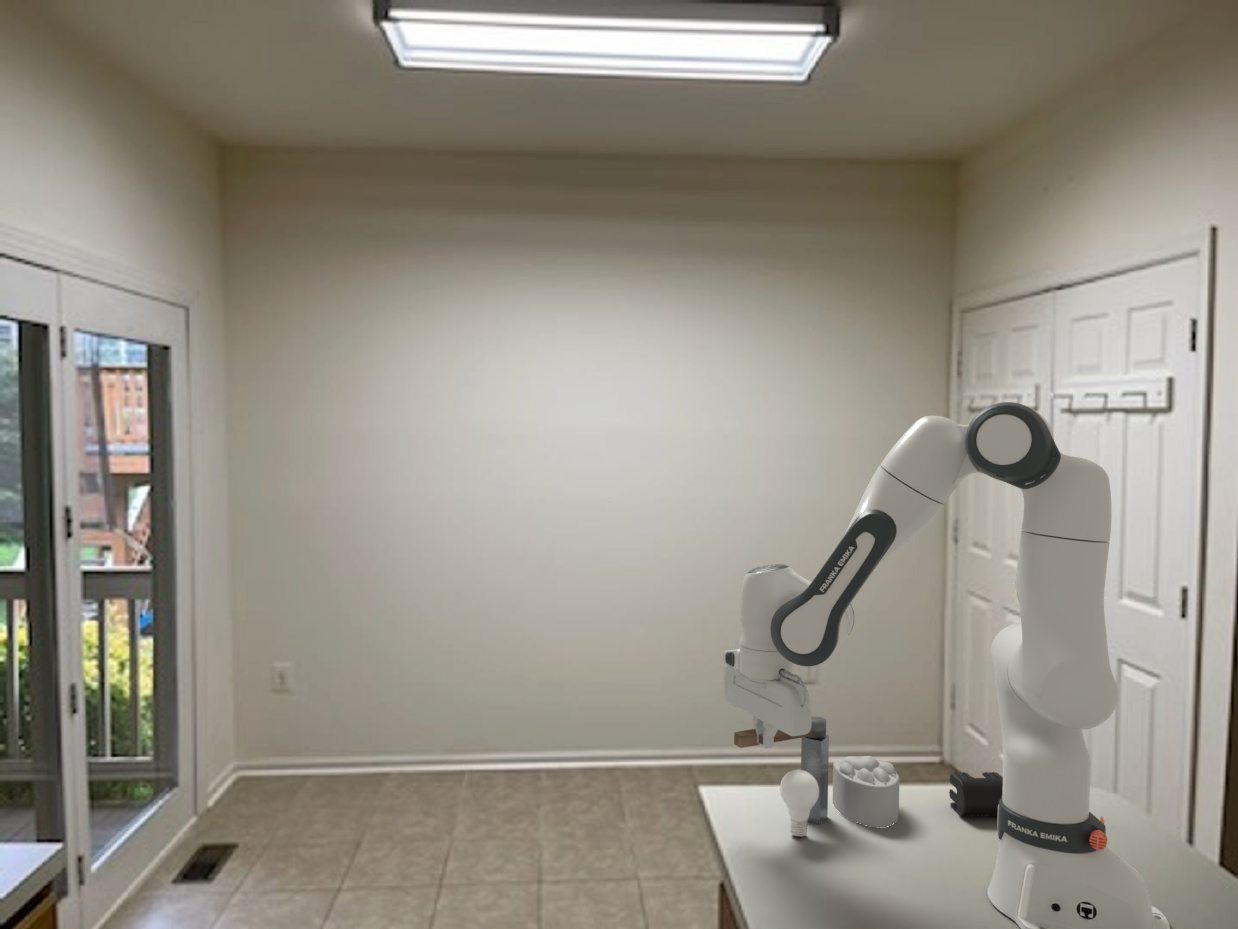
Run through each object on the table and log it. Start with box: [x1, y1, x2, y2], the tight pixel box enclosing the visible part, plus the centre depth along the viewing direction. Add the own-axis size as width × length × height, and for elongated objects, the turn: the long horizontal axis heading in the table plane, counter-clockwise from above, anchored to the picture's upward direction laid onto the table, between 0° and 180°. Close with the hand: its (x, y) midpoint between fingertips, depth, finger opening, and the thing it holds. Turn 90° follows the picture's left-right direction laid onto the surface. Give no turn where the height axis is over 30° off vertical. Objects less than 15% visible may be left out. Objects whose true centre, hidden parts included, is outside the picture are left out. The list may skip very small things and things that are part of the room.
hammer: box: [733, 715, 827, 749], centre depth 145 cm, size 4×18×3 cm, turn 115°
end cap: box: [948, 771, 1003, 817], centre depth 151 cm, size 10×7×7 cm
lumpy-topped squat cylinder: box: [832, 755, 900, 829], centre depth 151 cm, size 10×13×9 cm
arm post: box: [800, 734, 830, 825], centre depth 148 cm, size 4×4×14 cm
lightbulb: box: [779, 768, 819, 838], centre depth 141 cm, size 6×6×11 cm
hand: (765, 745), depth 141 cm, fingers closed
